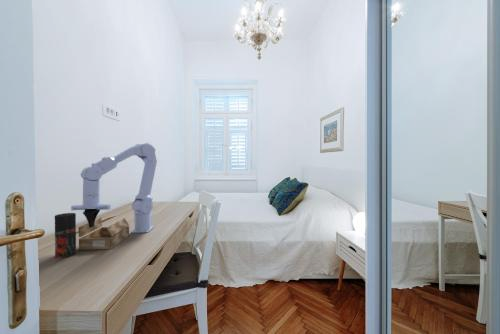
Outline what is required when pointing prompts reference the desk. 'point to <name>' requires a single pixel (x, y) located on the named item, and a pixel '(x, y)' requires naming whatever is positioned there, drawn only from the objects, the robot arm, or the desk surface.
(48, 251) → the desk surface
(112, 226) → the flap
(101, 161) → the robot arm
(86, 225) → the flap
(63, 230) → the deodorant
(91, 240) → the carton
